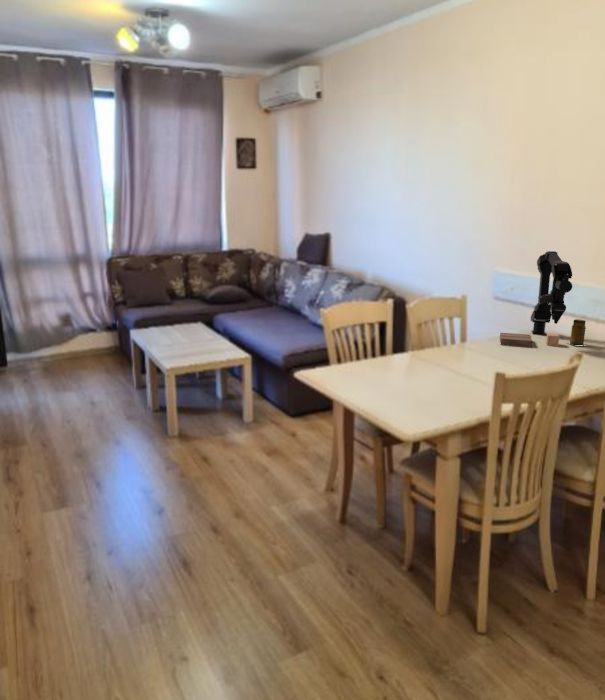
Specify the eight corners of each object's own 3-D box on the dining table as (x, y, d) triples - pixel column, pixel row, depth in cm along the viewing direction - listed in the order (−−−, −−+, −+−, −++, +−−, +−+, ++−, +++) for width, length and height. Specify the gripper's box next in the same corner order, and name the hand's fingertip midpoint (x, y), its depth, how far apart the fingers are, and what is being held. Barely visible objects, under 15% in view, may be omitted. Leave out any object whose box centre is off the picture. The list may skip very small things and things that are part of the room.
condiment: (578, 342, 297) (581, 318, 294) (589, 346, 289) (593, 322, 286) (565, 343, 295) (568, 319, 292) (576, 347, 287) (579, 322, 284)
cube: (545, 343, 294) (547, 333, 293) (556, 344, 293) (558, 334, 292) (546, 345, 290) (548, 335, 288) (558, 346, 288) (559, 336, 287)
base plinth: (499, 338, 302) (500, 332, 301) (529, 340, 299) (529, 334, 298) (500, 344, 289) (501, 338, 288) (531, 347, 286) (532, 341, 285)
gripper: (538, 285, 295) (535, 316, 299) (542, 291, 278) (538, 324, 282) (562, 286, 292) (558, 318, 296) (568, 292, 275) (563, 326, 279)
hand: (554, 321), depth 289 cm, fingers open, 9 cm apart
